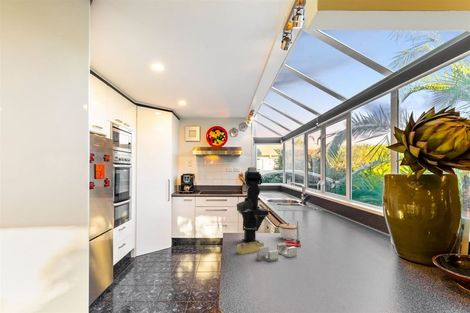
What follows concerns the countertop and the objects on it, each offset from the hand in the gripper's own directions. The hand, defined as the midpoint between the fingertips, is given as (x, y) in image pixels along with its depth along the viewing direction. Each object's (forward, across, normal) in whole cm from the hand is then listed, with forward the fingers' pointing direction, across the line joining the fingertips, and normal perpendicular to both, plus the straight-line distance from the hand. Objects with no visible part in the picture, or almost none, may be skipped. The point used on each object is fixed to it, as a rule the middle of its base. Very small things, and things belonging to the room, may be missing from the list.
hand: (251, 227), depth 117 cm
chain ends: (+12, +12, +7) cm, 18 cm away
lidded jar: (+12, -9, +36) cm, 39 cm away
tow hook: (+12, +1, +28) cm, 30 cm away
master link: (+12, 0, 0) cm, 12 cm away
